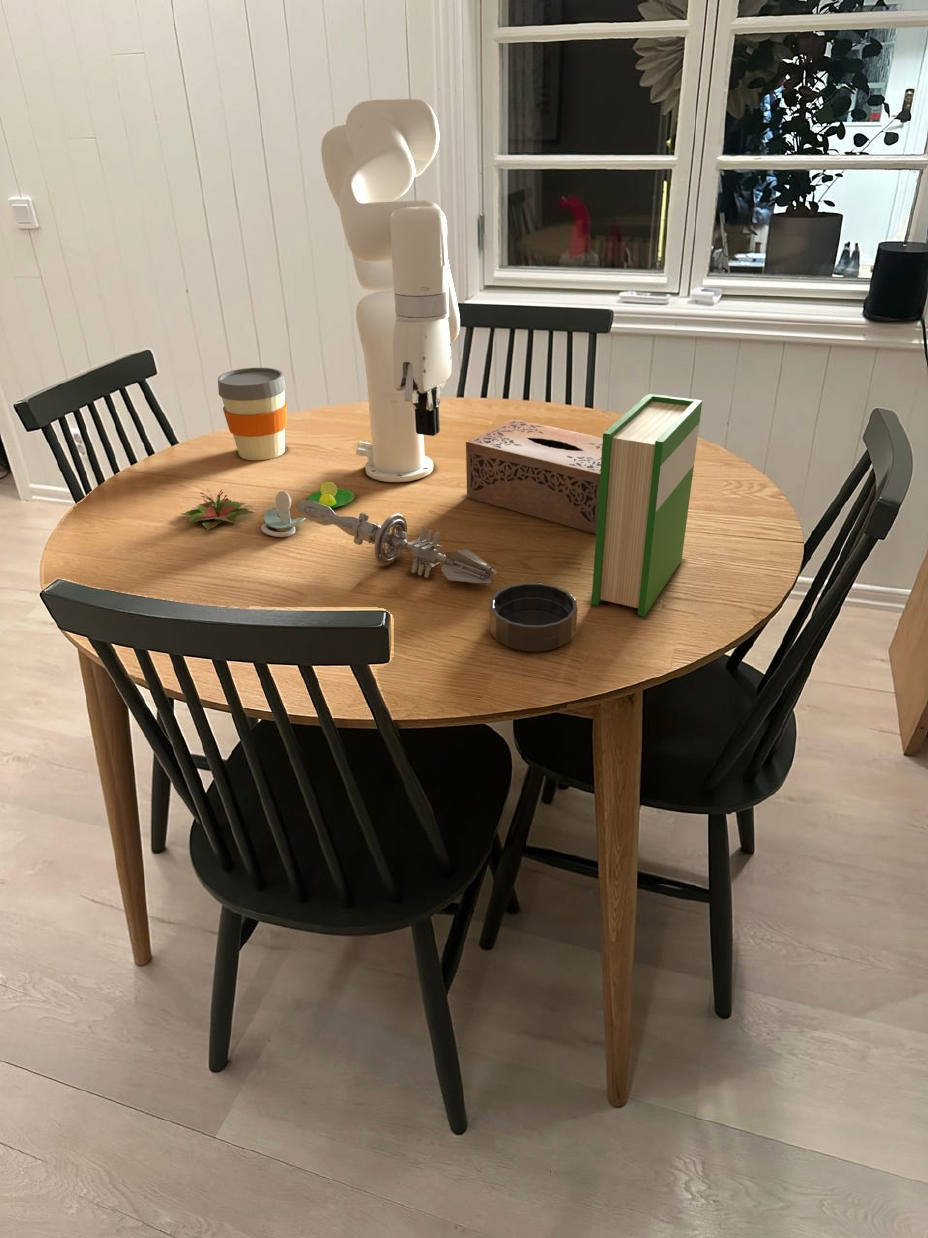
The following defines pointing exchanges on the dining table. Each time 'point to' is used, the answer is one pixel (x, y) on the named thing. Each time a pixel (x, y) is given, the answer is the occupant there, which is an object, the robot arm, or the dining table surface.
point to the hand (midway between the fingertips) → (427, 433)
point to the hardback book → (644, 499)
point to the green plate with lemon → (331, 496)
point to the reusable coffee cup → (255, 411)
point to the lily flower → (216, 511)
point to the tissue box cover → (537, 472)
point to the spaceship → (402, 544)
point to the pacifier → (282, 523)
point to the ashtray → (533, 617)
